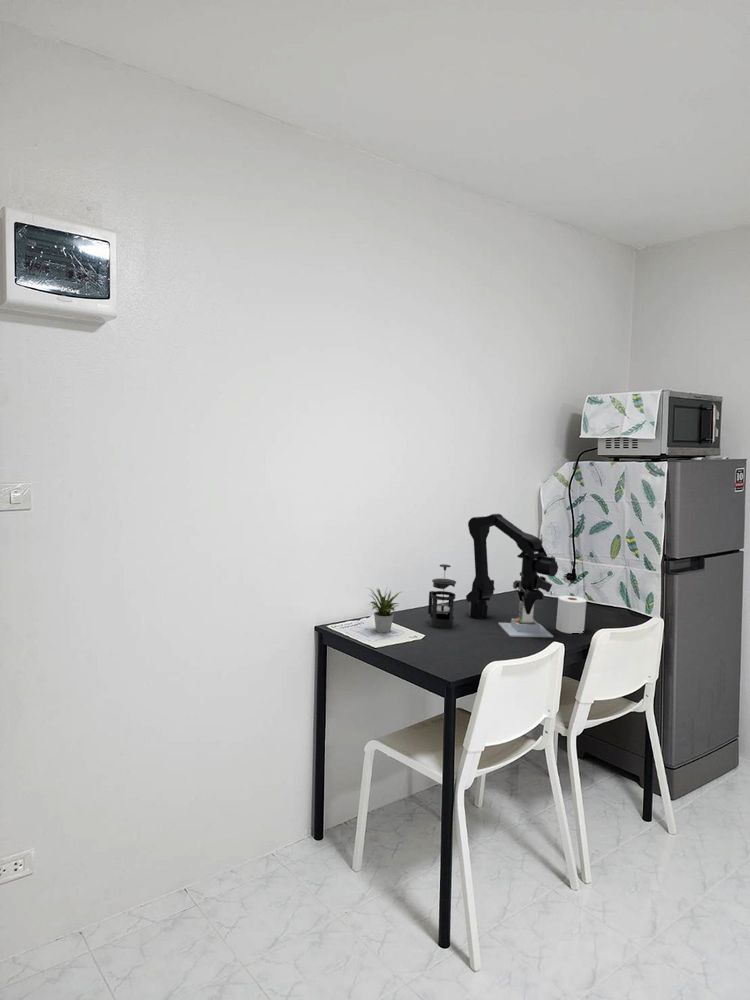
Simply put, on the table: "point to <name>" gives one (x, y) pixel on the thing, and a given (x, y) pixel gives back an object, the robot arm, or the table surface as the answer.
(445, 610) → the french press
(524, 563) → the robot arm
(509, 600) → the table surface
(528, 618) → the column
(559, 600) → the toilet paper
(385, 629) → the house plant
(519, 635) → the stand base
